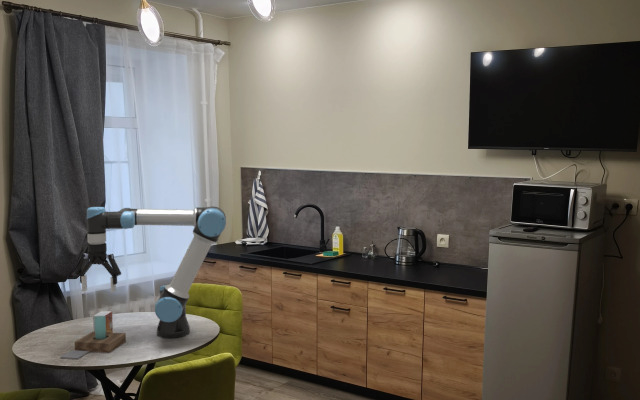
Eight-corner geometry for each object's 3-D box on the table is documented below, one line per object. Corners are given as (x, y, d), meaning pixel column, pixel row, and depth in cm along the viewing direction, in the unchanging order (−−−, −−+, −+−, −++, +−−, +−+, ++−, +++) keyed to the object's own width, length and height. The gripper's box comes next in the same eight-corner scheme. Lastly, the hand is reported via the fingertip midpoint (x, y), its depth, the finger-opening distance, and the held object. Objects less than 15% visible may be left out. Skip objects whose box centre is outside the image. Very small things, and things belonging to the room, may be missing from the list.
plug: (108, 344, 247) (107, 316, 246) (103, 348, 243) (102, 319, 242) (99, 344, 248) (98, 315, 247) (93, 347, 244) (92, 318, 243)
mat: (88, 352, 238) (88, 351, 238) (78, 359, 230) (77, 358, 230) (71, 351, 239) (71, 350, 239) (60, 358, 231) (60, 356, 231)
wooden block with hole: (126, 341, 251) (125, 333, 251) (109, 352, 238) (109, 343, 237) (93, 340, 254) (92, 331, 253) (75, 350, 240) (74, 341, 240)
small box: (105, 338, 256) (104, 315, 255) (93, 338, 257) (92, 315, 256) (113, 332, 264) (112, 311, 263) (101, 332, 265) (101, 310, 264)
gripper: (128, 242, 244) (129, 289, 245) (75, 240, 248) (77, 288, 249) (119, 244, 236) (121, 294, 238) (65, 243, 240) (67, 292, 242)
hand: (98, 291), depth 244 cm, fingers open, 13 cm apart
